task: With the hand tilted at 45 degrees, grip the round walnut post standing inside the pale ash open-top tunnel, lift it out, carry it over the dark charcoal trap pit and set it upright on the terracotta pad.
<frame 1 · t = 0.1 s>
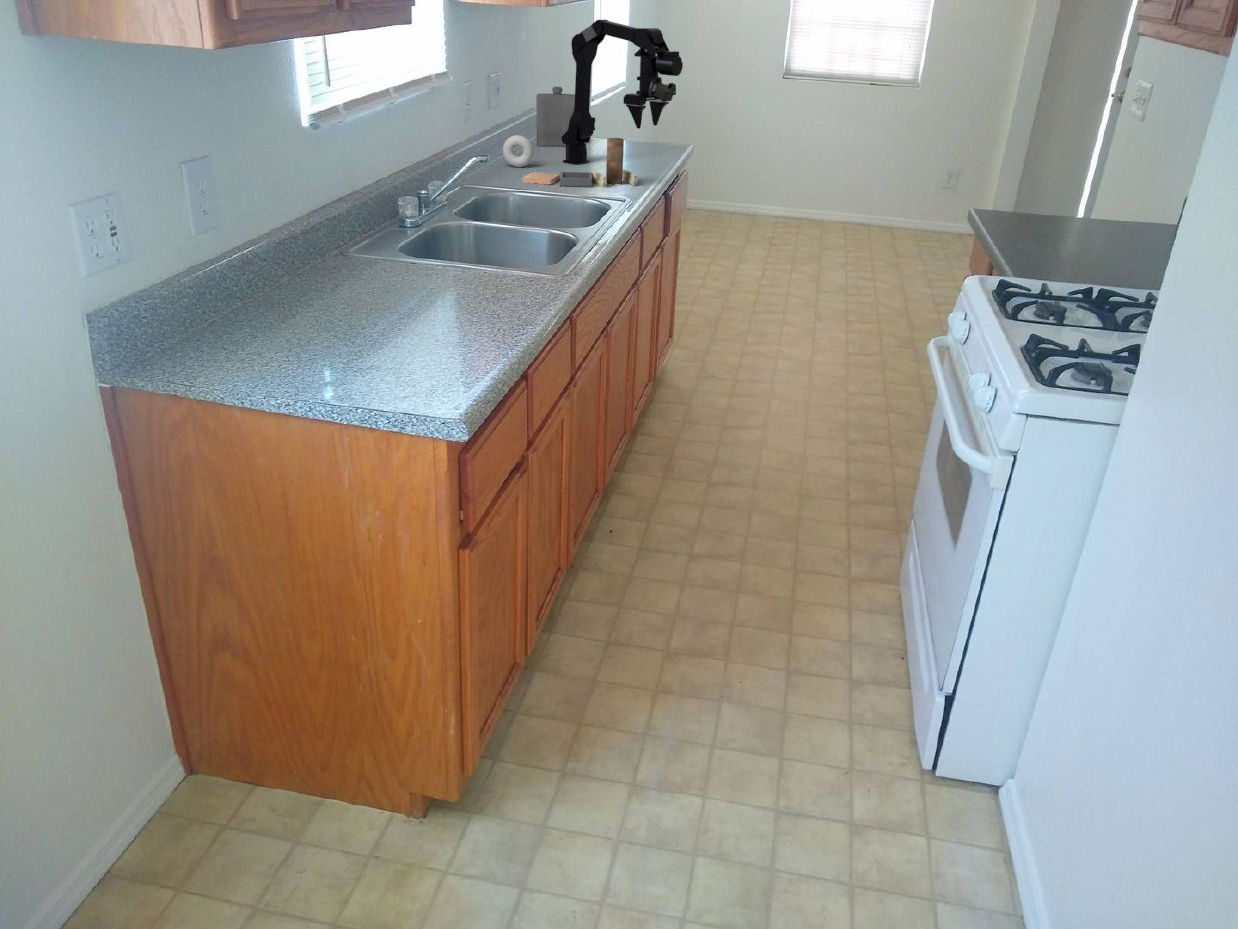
hand: (646, 126, 298), 15 cm above the worktop, tool pointing down, fingers open, 9 cm apart
donut: (518, 167, 309), on the worktop
flask: (557, 146, 347), on the worktop
tunnel: (614, 183, 291), on the worktop
walnut post: (614, 183, 291), on the worktop
trap pit: (575, 183, 289), on the worktop
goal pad: (541, 180, 291), on the worktop
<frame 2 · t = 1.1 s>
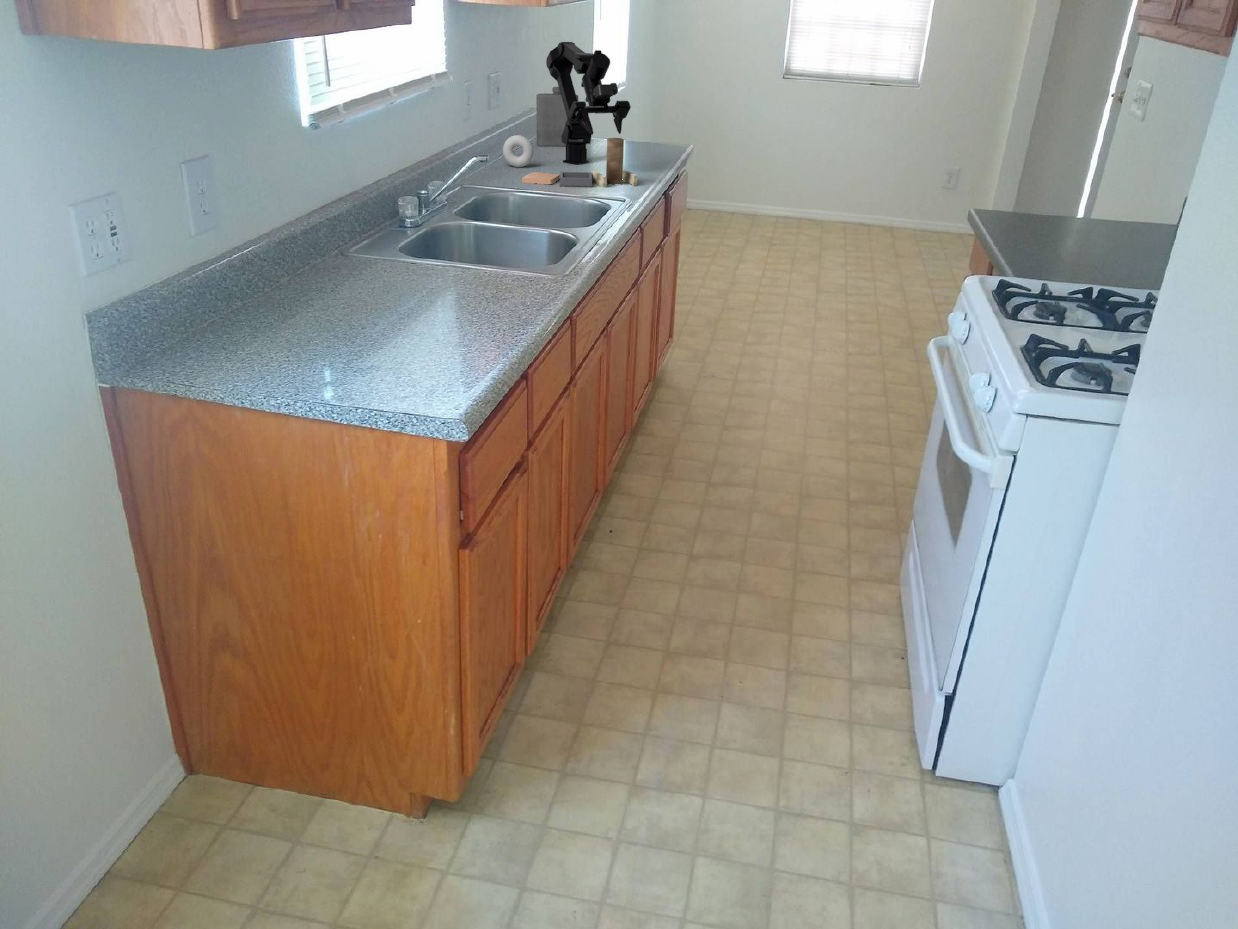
hand: (606, 133, 292), 13 cm above the worktop, tool tilted 45°, fingers open, 9 cm apart
nothing on the worktop moved.
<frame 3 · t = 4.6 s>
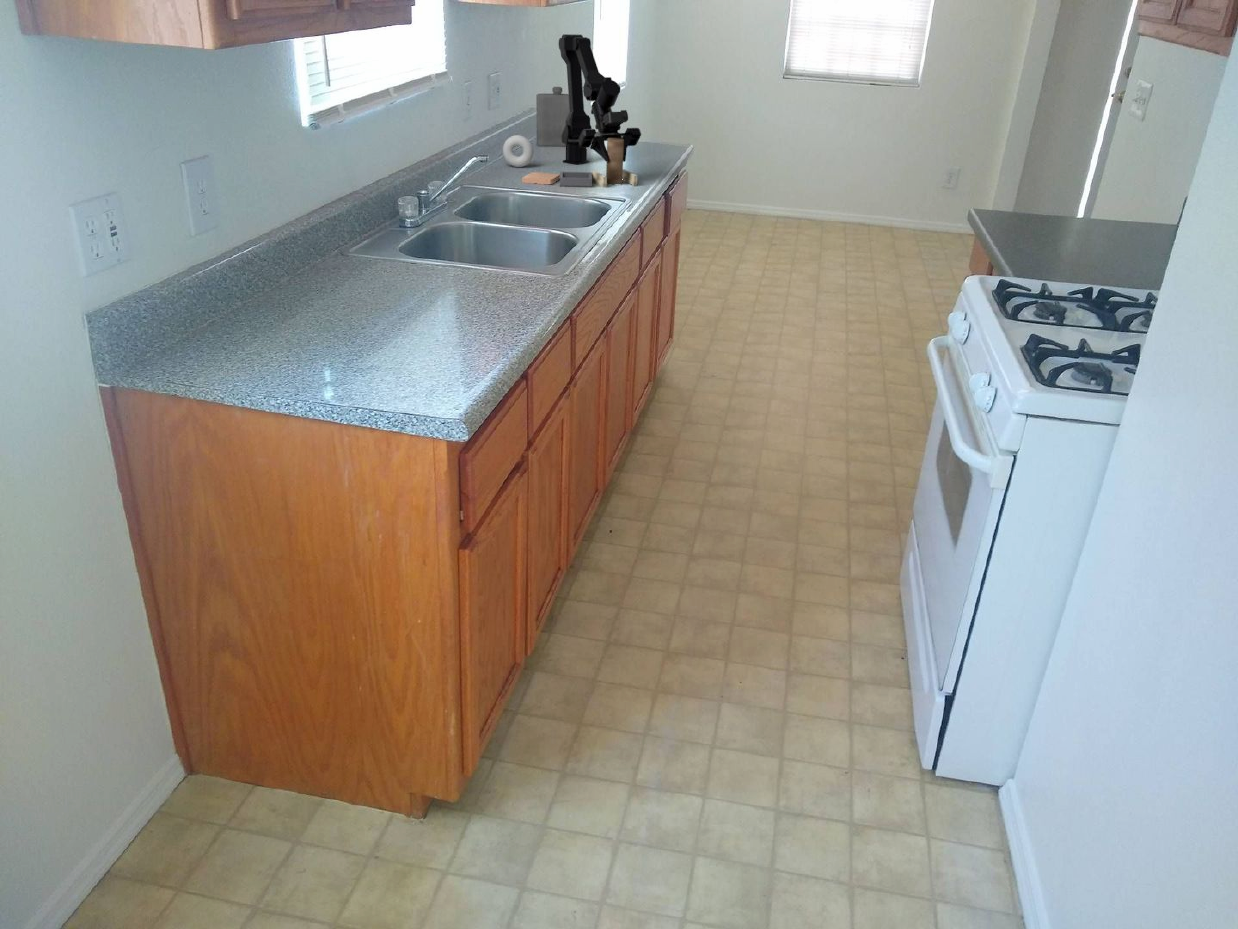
hand: (616, 161, 287), 7 cm above the worktop, tool tilted 45°, fingers closed on walnut post, 5 cm apart
walnut post: (614, 183, 291), on the worktop, touching gripper
everything else where it was.
when the fingers open (10 cm above the worktop, at t = 10.2 s): walnut post drops 1 cm, resting on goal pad.
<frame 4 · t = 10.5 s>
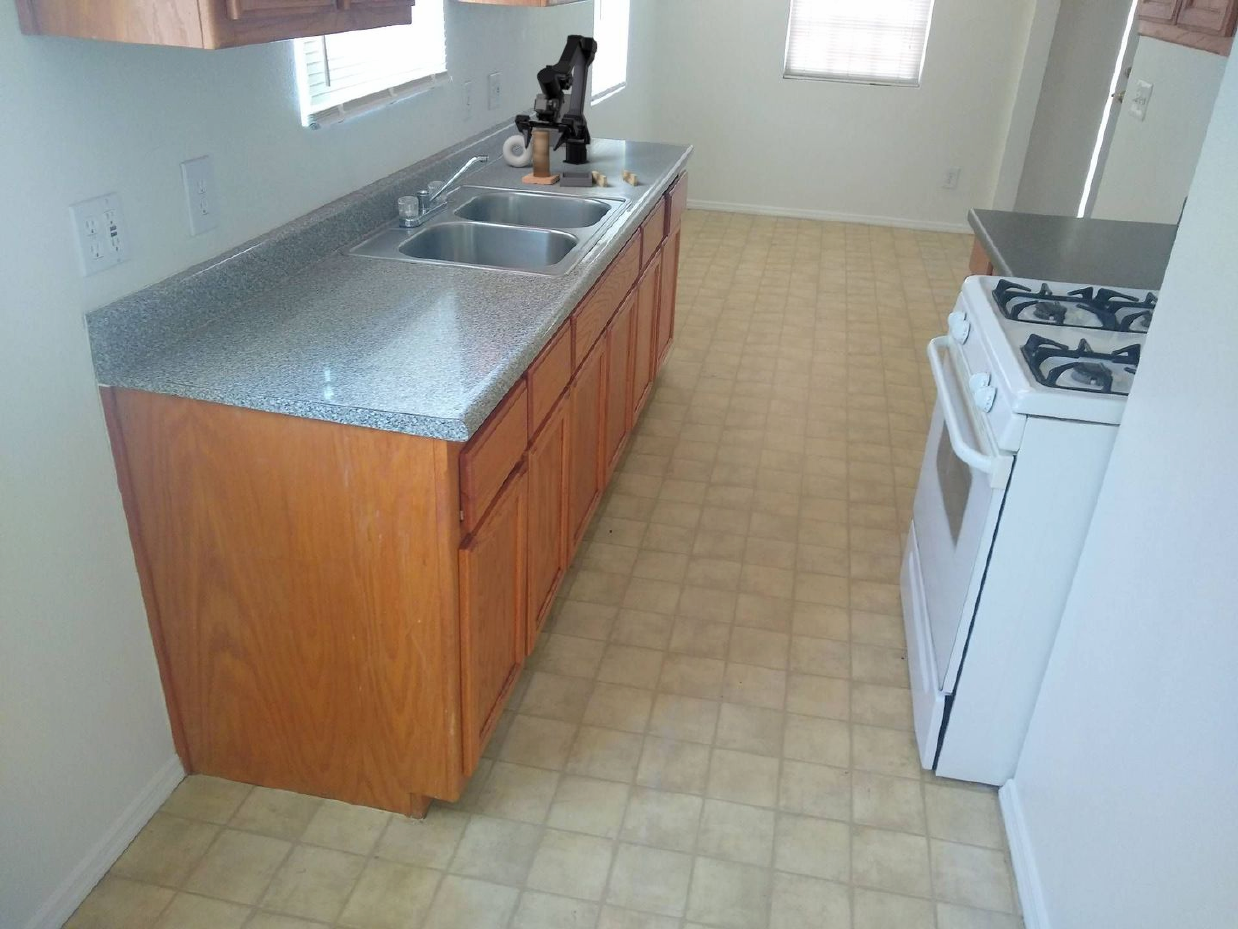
hand: (539, 149, 285), 10 cm above the worktop, tool tilted 45°, fingers open, 9 cm apart
walnut post: (541, 175, 290), point 2 cm above the worktop, touching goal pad
everything else where it was.
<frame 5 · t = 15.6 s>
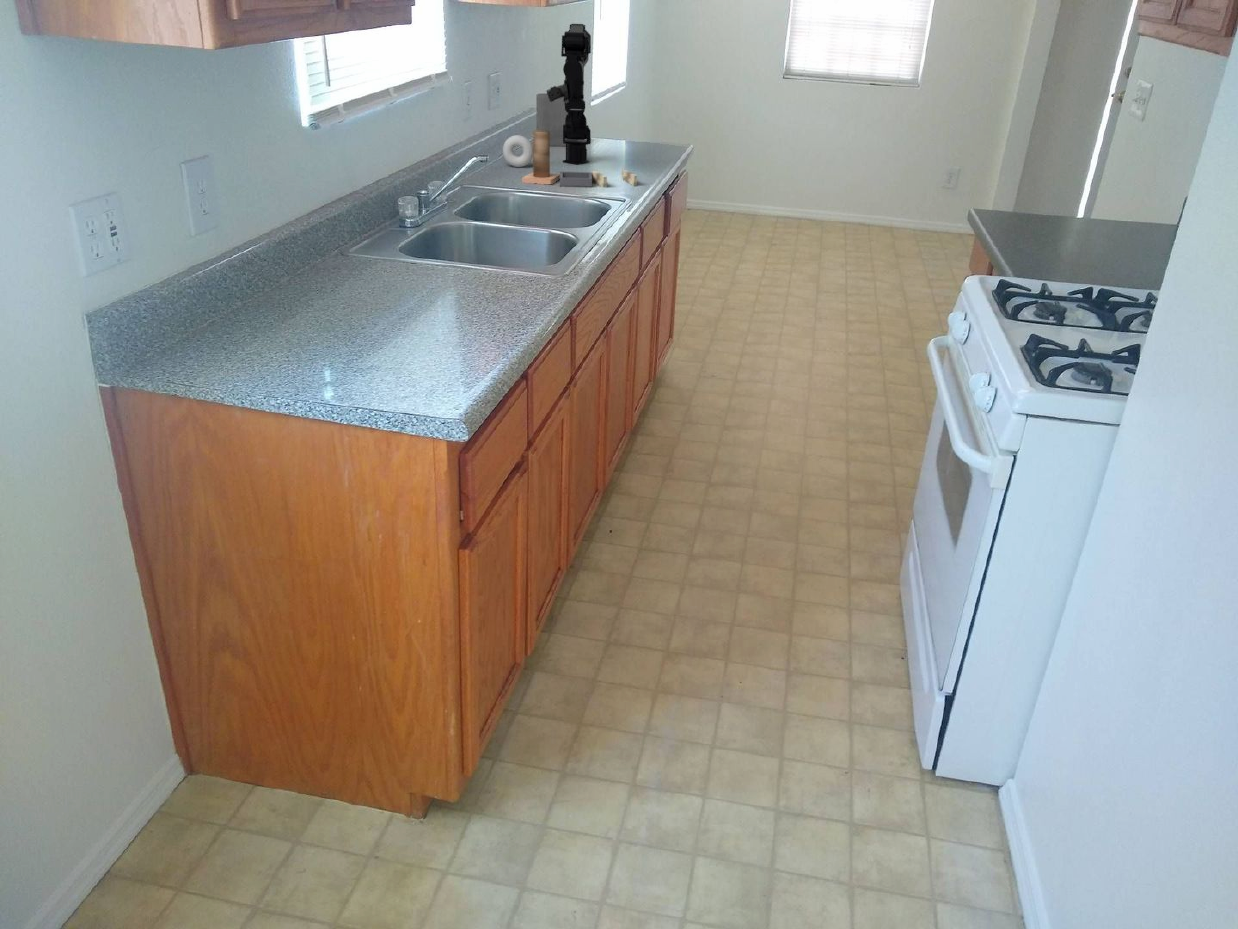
hand: (573, 129, 298), 13 cm above the worktop, tool pointing down, fingers open, 9 cm apart
nothing on the worktop moved.
at the end: walnut post 0.0 cm off-centre on the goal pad, point 1.5 cm above the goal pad's base; walnut post tilted 1°; the gripper is holding nothing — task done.
